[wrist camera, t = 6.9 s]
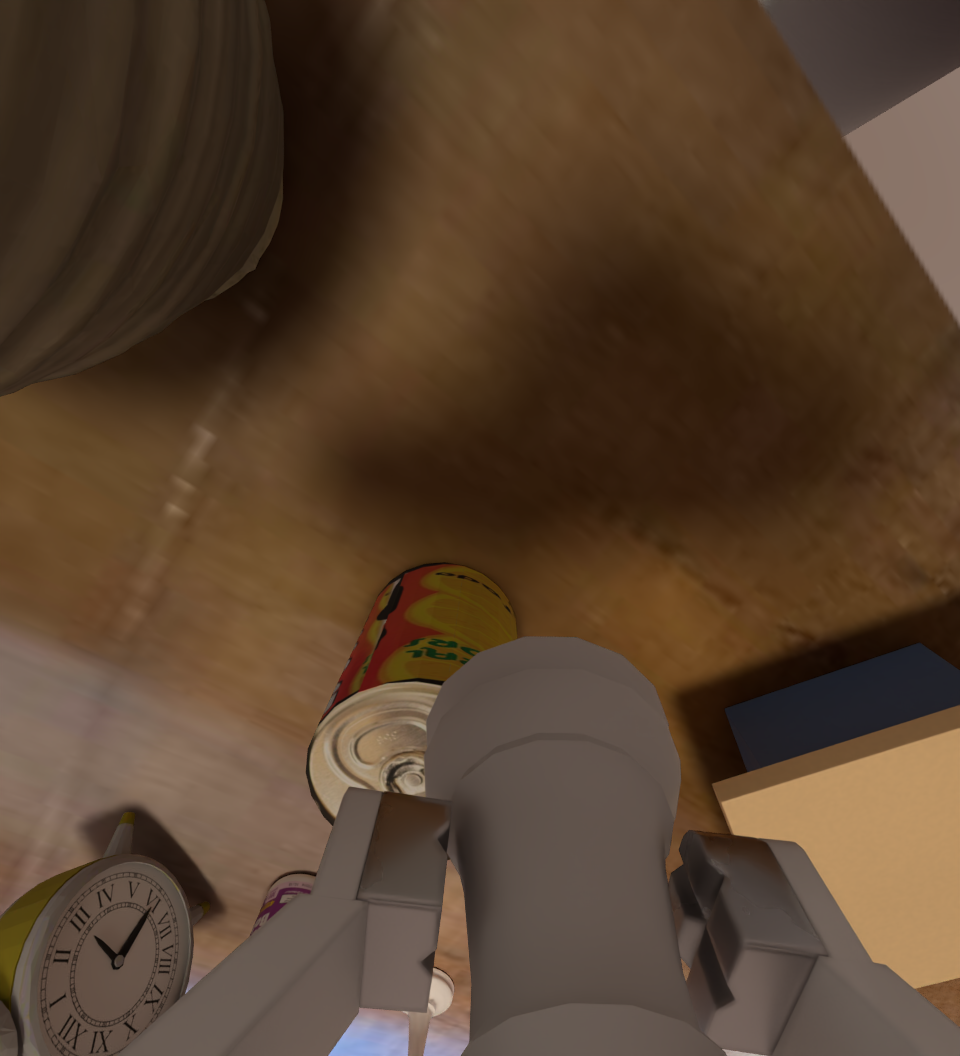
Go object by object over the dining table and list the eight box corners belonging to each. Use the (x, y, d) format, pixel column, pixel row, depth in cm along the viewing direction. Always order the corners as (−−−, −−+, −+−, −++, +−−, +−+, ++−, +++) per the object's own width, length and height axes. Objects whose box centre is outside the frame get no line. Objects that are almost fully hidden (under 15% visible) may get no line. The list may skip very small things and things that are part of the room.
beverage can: (473, 537, 32) (461, 644, 20) (542, 659, 34) (566, 816, 23) (341, 602, 33) (261, 736, 22) (416, 715, 35) (379, 889, 24)
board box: (963, 581, 32) (1142, 671, 23) (1003, 786, 36) (1166, 927, 27) (663, 686, 34) (720, 802, 26) (734, 865, 39) (804, 1016, 30)
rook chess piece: (671, 800, 11) (1055, 1797, 3) (454, 828, 11) (373, 1782, 4) (648, 602, 10) (1202, 1538, 2) (403, 642, 10) (120, 1552, 2)
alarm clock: (232, 906, 41) (95, 1201, 27) (158, 932, 42) (-12, 1229, 28) (141, 793, 38) (-70, 1060, 24) (63, 824, 39) (-184, 1097, 25)
